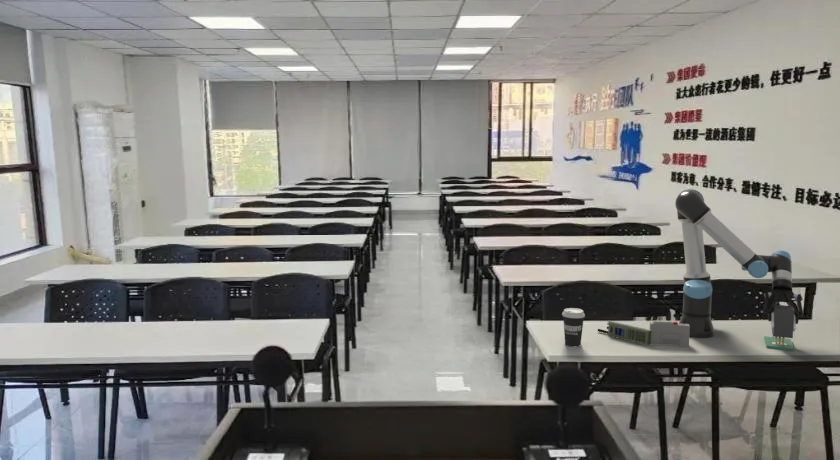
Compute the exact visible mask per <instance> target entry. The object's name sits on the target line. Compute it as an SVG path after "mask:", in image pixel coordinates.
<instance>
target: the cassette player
mask: <svg viewBox="0 0 840 460" xmlns="http://www.w3.org/2000/svg"><path fill="white" fill-rule="evenodd" d="M649 330H651V343H650V345H662V346H678V347H679V346H681V347H690V336H689V334H690V325H689V324H679V322H678V321H672V320H671V321H667V320H653V322H652V321H651V322H650V321H649Z"/></svg>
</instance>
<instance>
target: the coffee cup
mask: <svg viewBox="0 0 840 460" xmlns="http://www.w3.org/2000/svg"><path fill="white" fill-rule="evenodd" d="M561 315H562V317H563V331H564V332H563V333H564V334H563V335H564V344H565V346H567V345H570V346H569V347H571V346H577V347H580V346H581V345H582V336H583V328H584V319H585V317H586V314H585V313H584V310H583V309H581V308H577V307H575V308H574V307H569V308H568V307H567V308H564V309H563V311H562V313H561ZM579 345H580V346H579Z"/></svg>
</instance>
